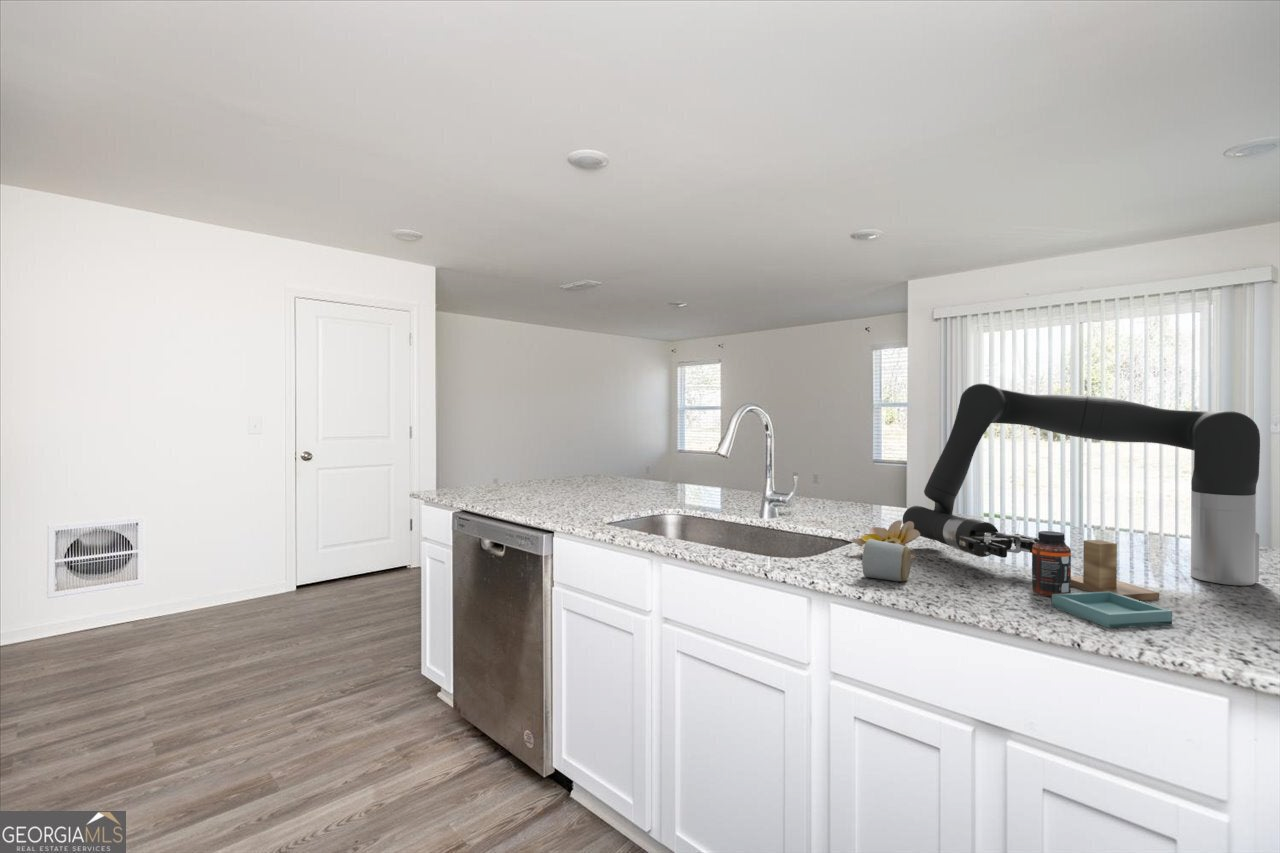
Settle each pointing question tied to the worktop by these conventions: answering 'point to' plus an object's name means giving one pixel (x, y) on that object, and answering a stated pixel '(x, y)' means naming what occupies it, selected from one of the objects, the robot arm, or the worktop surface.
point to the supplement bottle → (1051, 564)
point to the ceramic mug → (886, 560)
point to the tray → (1111, 609)
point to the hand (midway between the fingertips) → (1025, 551)
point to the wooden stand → (1106, 572)
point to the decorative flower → (891, 534)
